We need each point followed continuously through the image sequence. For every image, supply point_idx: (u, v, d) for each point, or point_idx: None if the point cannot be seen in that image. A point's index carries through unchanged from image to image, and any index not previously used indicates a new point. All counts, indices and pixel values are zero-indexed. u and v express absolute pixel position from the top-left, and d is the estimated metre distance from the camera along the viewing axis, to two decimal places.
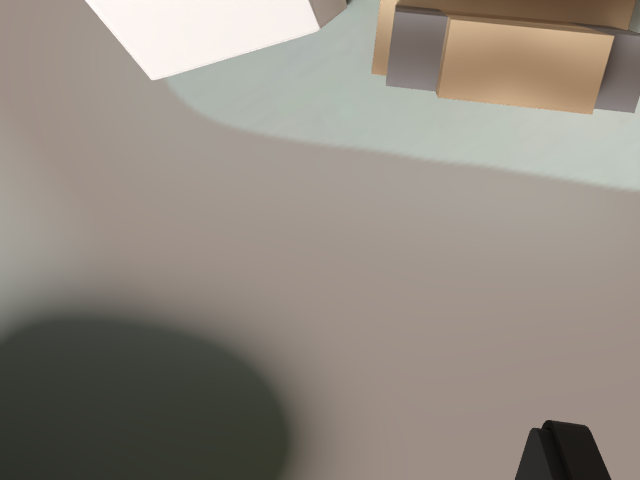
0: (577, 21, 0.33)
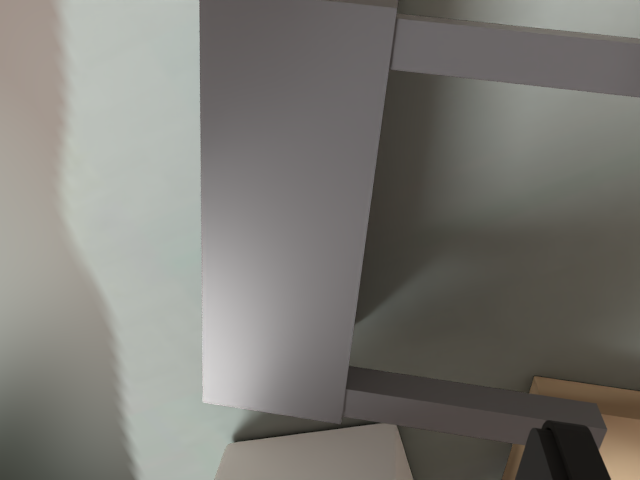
0: None
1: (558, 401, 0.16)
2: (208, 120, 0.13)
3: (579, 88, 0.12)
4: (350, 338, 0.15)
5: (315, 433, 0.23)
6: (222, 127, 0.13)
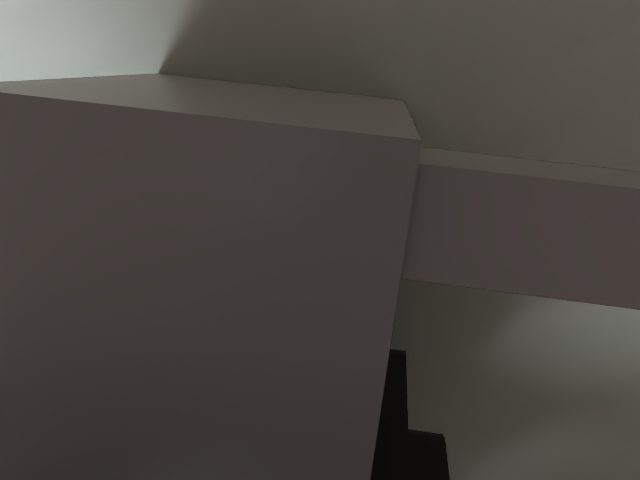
0: None
1: None
2: None
3: None
4: None
5: None
6: (15, 392, 0.06)
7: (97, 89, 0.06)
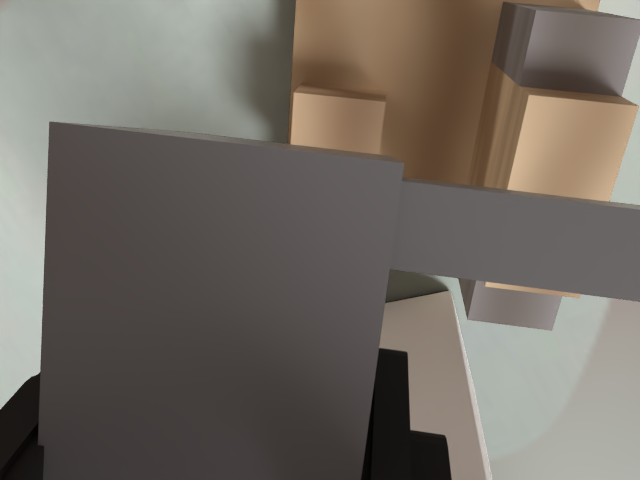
0: (492, 47, 0.26)
1: None
2: (55, 352, 0.07)
3: None
4: None
5: None
6: (81, 365, 0.07)
7: (156, 132, 0.08)
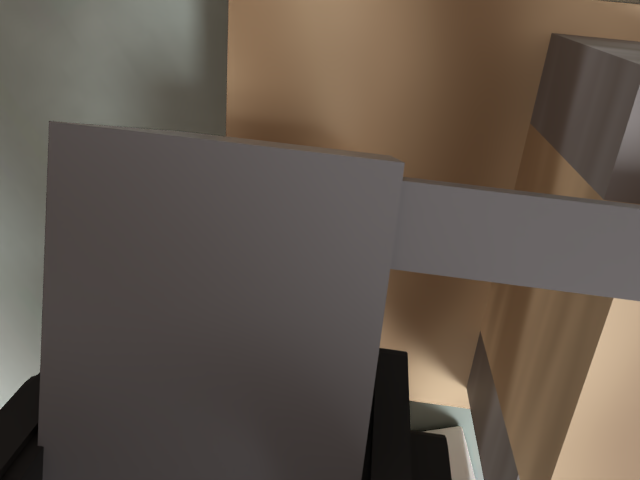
0: (532, 102, 0.17)
1: None
2: (55, 352, 0.07)
3: None
4: None
5: None
6: (80, 365, 0.07)
7: (156, 131, 0.08)
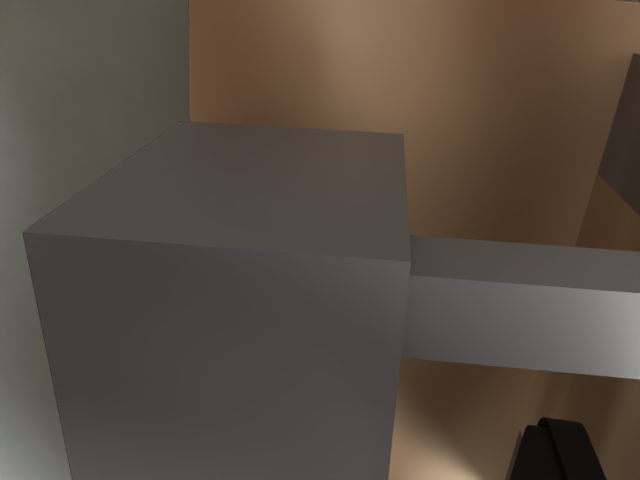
0: (601, 146, 0.12)
1: None
2: (77, 435, 0.07)
3: None
4: None
5: None
6: (103, 445, 0.07)
7: (141, 198, 0.07)
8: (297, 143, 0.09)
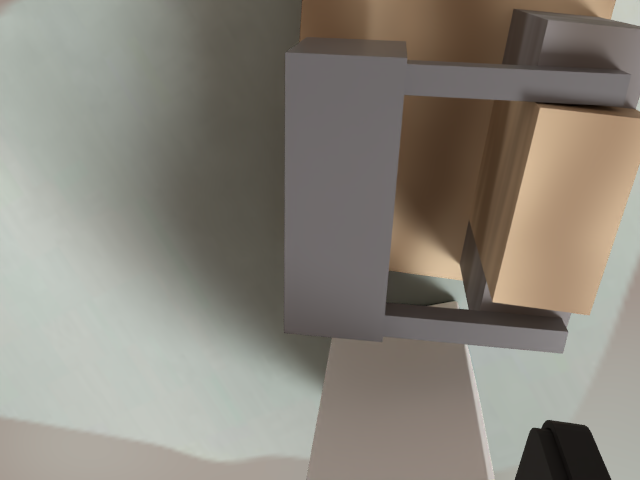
0: (501, 55, 0.26)
1: (534, 317, 0.23)
2: (290, 133, 0.20)
3: (523, 99, 0.19)
4: (386, 276, 0.22)
5: None
6: (299, 137, 0.20)
7: (314, 49, 0.20)
8: (361, 42, 0.23)
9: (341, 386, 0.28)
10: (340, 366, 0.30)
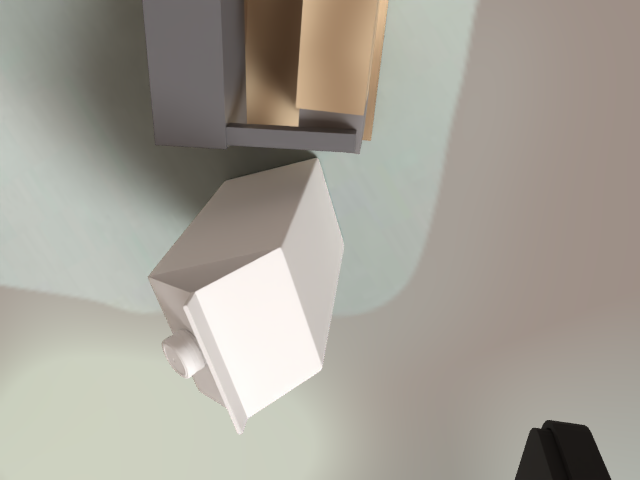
0: None
1: (336, 129, 0.32)
2: None
3: None
4: (223, 94, 0.31)
5: None
6: None
7: None
8: None
9: (214, 207, 0.37)
10: (218, 199, 0.38)
